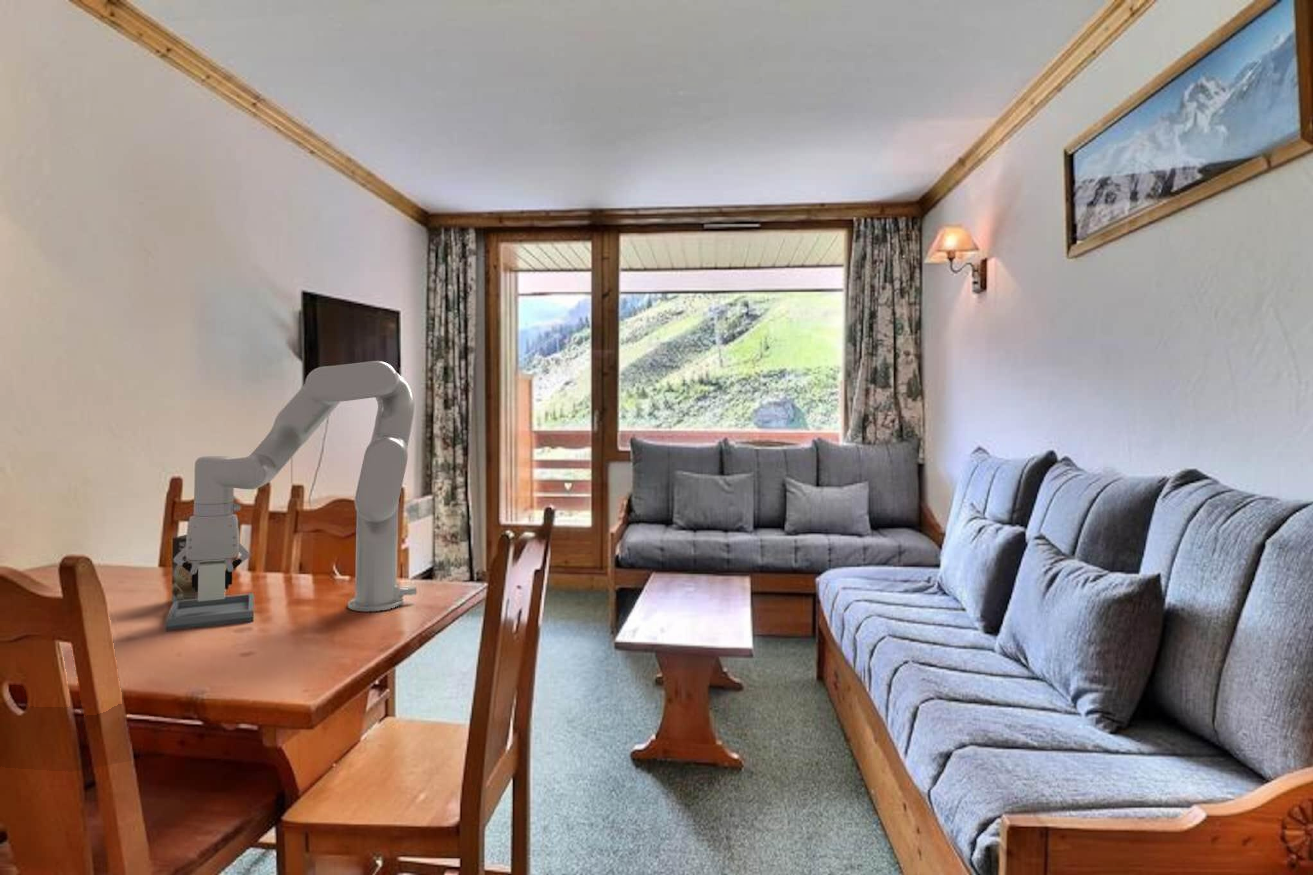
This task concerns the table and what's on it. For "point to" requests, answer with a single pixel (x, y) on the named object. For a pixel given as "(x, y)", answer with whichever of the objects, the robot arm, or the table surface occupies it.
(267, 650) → the table surface
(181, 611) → the tray
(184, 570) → the coffee box
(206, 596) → the sage block
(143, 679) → the table surface
